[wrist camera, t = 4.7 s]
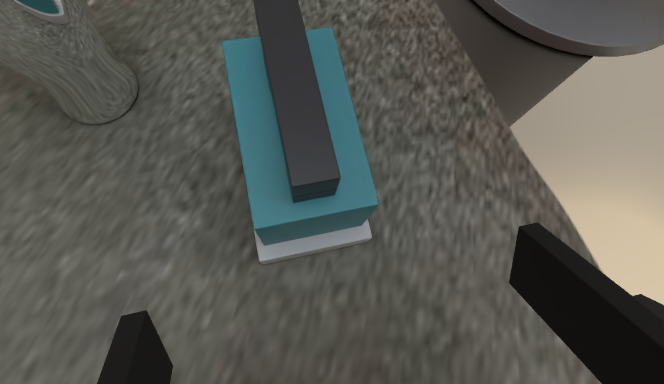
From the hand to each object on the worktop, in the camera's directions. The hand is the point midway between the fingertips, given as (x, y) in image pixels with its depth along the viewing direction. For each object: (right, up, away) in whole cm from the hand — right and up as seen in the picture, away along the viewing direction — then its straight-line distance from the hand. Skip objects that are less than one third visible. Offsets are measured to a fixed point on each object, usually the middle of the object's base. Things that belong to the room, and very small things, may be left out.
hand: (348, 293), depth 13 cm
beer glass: (-19, +12, +17) cm, 28 cm away
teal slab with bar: (-4, +8, +17) cm, 19 cm away
